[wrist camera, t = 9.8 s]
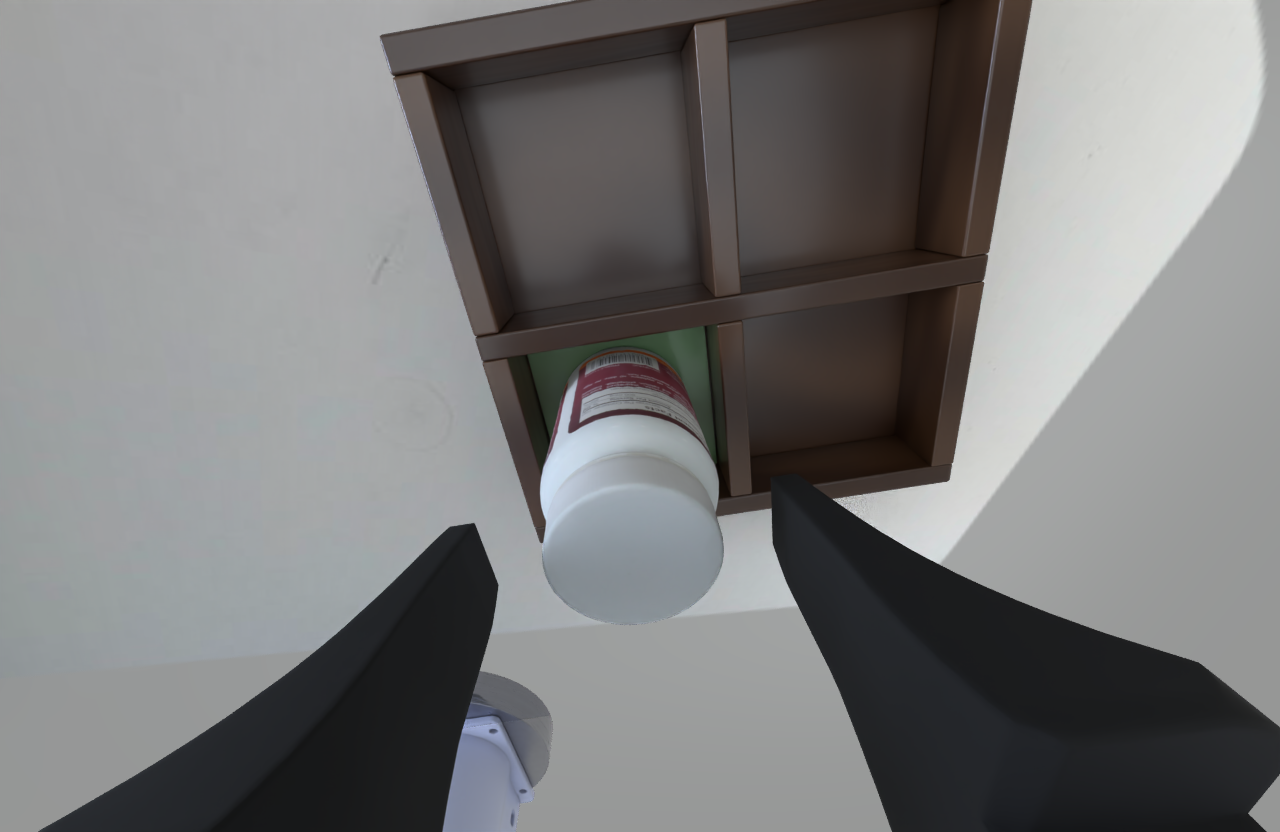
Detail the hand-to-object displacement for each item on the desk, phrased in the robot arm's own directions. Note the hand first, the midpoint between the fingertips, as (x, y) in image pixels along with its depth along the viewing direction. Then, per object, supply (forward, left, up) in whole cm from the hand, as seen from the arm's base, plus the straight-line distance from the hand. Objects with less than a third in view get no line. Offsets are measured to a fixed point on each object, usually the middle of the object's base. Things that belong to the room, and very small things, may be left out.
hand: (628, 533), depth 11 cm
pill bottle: (0, 0, -7) cm, 7 cm away
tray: (+4, -4, -8) cm, 9 cm away
